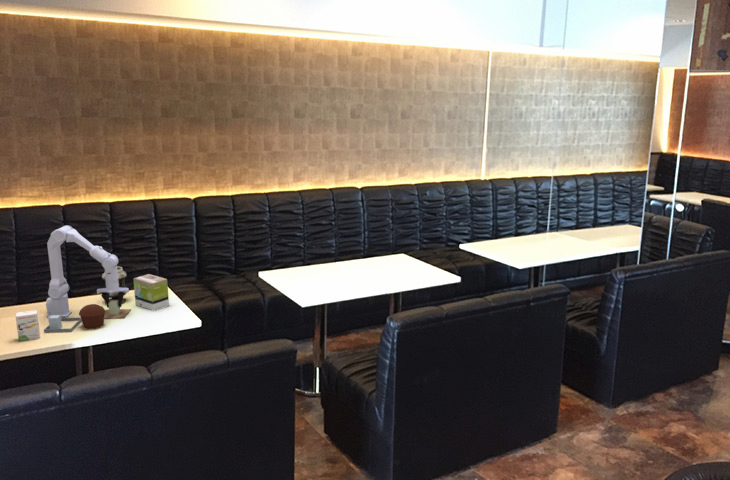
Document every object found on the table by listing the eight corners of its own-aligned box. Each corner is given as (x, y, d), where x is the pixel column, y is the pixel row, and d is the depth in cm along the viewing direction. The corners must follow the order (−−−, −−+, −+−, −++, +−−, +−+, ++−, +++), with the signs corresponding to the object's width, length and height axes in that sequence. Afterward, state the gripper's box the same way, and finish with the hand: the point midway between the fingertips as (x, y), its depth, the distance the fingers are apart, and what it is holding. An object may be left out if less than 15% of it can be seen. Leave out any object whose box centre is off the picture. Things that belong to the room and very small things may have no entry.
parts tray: (44, 332, 288) (43, 329, 288) (56, 321, 303) (56, 318, 303) (71, 331, 289) (71, 328, 289) (82, 320, 304) (82, 317, 304)
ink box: (18, 341, 278) (15, 316, 275) (18, 337, 282) (15, 312, 280) (40, 338, 282) (37, 313, 279) (39, 334, 286) (36, 309, 284)
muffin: (111, 322, 301) (110, 302, 299) (97, 331, 291) (95, 310, 289) (89, 320, 304) (87, 300, 301) (74, 328, 293) (72, 308, 291)
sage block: (109, 314, 310) (108, 302, 308) (112, 312, 314) (110, 300, 312) (118, 314, 310) (116, 302, 309) (120, 311, 314) (119, 300, 312)
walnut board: (98, 319, 306) (98, 318, 305) (106, 310, 317) (106, 309, 317) (124, 318, 307) (124, 317, 307) (131, 310, 318) (130, 308, 318)
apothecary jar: (133, 299, 334) (130, 266, 330) (116, 306, 323) (113, 272, 319) (116, 296, 339) (113, 264, 335) (98, 303, 328) (95, 269, 324)
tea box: (134, 305, 325) (132, 277, 322) (151, 300, 333) (149, 273, 330) (153, 311, 317) (151, 282, 313) (169, 306, 325) (168, 278, 321)
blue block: (49, 330, 291) (48, 318, 290) (53, 327, 295) (51, 315, 293) (58, 330, 291) (57, 318, 290) (62, 327, 295) (60, 315, 294)
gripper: (93, 283, 303) (96, 310, 307) (125, 282, 305) (127, 309, 308) (98, 278, 310) (101, 305, 313) (129, 278, 312) (131, 304, 315)
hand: (114, 306), depth 311 cm, fingers open, 5 cm apart
